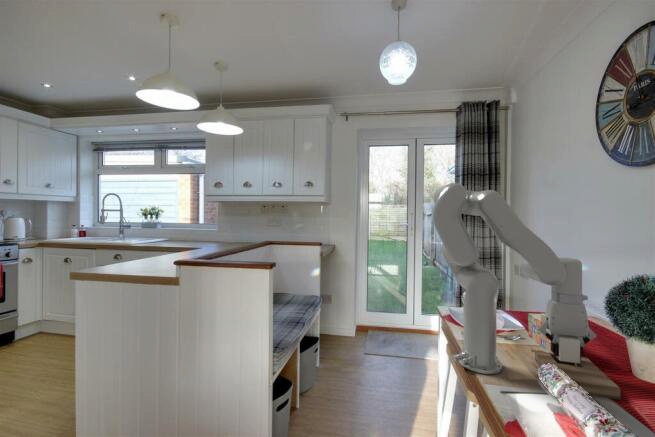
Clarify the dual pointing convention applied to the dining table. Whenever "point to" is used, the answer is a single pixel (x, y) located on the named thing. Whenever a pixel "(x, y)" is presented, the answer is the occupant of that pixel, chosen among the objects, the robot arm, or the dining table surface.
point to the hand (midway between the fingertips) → (566, 355)
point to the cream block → (569, 348)
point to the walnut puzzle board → (583, 375)
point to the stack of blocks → (534, 333)
